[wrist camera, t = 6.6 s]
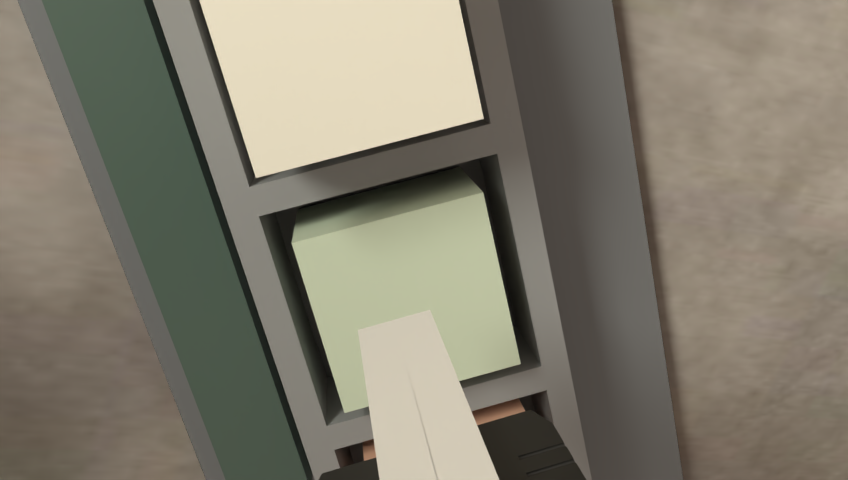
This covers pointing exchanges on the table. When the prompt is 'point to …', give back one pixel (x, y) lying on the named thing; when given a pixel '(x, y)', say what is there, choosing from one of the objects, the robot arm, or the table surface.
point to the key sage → (406, 274)
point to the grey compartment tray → (352, 174)
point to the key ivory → (340, 74)
